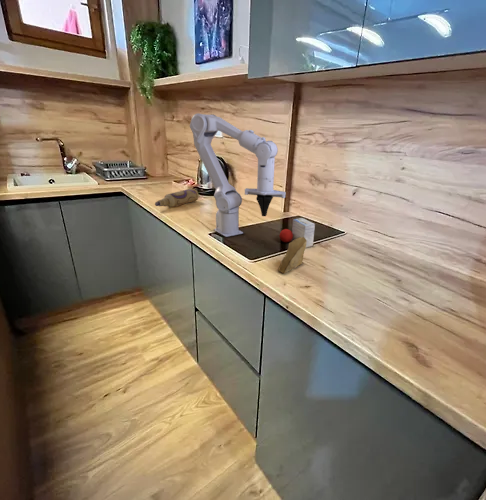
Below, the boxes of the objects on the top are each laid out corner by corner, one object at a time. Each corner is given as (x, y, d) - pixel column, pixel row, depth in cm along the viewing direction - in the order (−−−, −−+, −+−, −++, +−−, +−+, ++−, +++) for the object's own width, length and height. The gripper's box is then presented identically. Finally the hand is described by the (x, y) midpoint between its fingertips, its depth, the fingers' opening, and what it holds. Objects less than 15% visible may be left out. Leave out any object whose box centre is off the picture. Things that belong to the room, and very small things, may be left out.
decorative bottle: (189, 199, 165) (188, 187, 163) (199, 201, 162) (199, 189, 159) (150, 209, 145) (148, 195, 142) (161, 212, 141) (159, 198, 139)
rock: (285, 271, 85) (315, 262, 89) (275, 243, 87) (305, 235, 90) (273, 278, 95) (300, 268, 99) (264, 252, 97) (291, 244, 100)
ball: (276, 229, 112) (289, 226, 110) (281, 232, 116) (294, 229, 114) (278, 241, 110) (290, 239, 108) (283, 244, 115) (295, 242, 113)
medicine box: (313, 246, 110) (315, 223, 107) (303, 248, 108) (305, 225, 105) (300, 239, 117) (302, 217, 113) (291, 240, 114) (292, 218, 111)
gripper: (242, 178, 103) (241, 216, 108) (284, 181, 101) (281, 220, 106) (247, 175, 110) (247, 211, 115) (287, 178, 107) (285, 215, 112)
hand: (264, 215), depth 111 cm, fingers closed
